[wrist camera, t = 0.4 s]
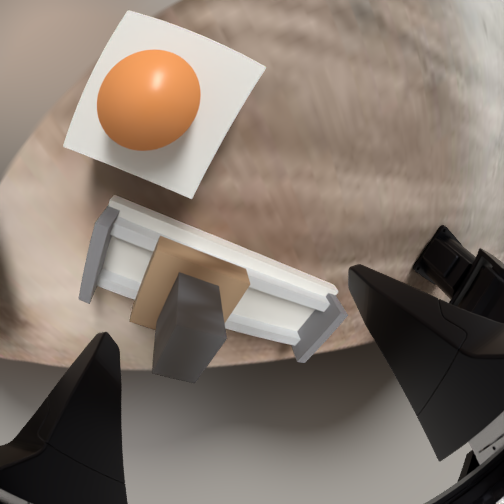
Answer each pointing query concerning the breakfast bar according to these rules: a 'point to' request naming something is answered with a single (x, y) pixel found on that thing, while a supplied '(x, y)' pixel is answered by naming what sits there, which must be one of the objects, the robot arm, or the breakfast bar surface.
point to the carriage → (187, 307)
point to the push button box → (208, 116)
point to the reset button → (148, 100)
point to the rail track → (258, 266)
